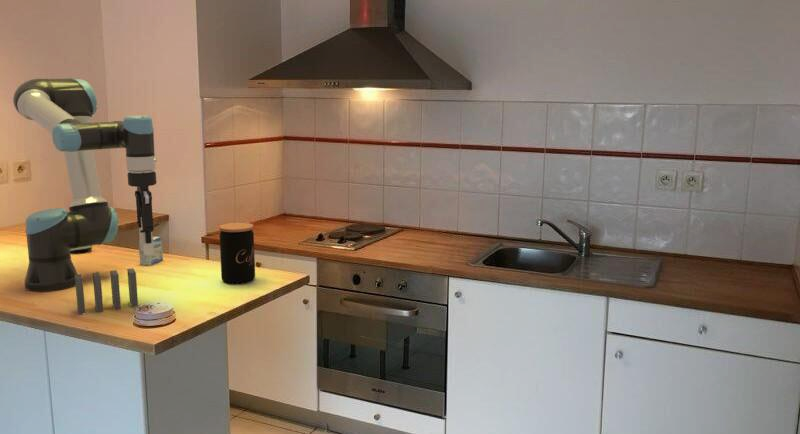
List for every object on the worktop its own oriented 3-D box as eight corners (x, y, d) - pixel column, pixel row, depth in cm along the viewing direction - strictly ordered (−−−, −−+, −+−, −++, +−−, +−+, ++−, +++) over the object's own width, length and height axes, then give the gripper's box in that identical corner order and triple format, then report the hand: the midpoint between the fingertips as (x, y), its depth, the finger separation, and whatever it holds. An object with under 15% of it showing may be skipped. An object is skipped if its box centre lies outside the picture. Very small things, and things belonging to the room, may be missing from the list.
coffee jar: (238, 287, 217) (236, 230, 214) (214, 281, 223) (211, 226, 219) (262, 279, 226) (260, 224, 222) (238, 274, 231) (236, 221, 228)
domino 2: (97, 311, 193) (94, 277, 191) (95, 306, 197) (92, 272, 196) (103, 311, 194) (100, 276, 192) (101, 306, 198) (98, 272, 196)
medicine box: (151, 266, 241) (149, 241, 240) (139, 265, 242) (137, 241, 240) (163, 260, 249) (161, 236, 247) (151, 259, 250) (150, 236, 248)
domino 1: (79, 314, 191) (75, 279, 189) (77, 309, 195) (74, 274, 193) (85, 313, 192) (82, 278, 190) (83, 308, 196) (80, 274, 194)
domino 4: (132, 307, 197) (129, 273, 196) (129, 302, 202) (127, 268, 200) (138, 306, 198) (135, 272, 196) (135, 301, 203) (133, 268, 201)
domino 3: (114, 309, 195) (112, 275, 193) (112, 304, 200) (110, 270, 198) (120, 308, 196) (118, 274, 194) (118, 303, 200) (116, 270, 198)
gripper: (161, 174, 189) (166, 257, 193) (150, 167, 204) (155, 244, 209) (132, 175, 185) (138, 260, 190) (123, 168, 201) (128, 247, 205)
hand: (147, 251), depth 199 cm, fingers closed on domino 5, 5 cm apart
